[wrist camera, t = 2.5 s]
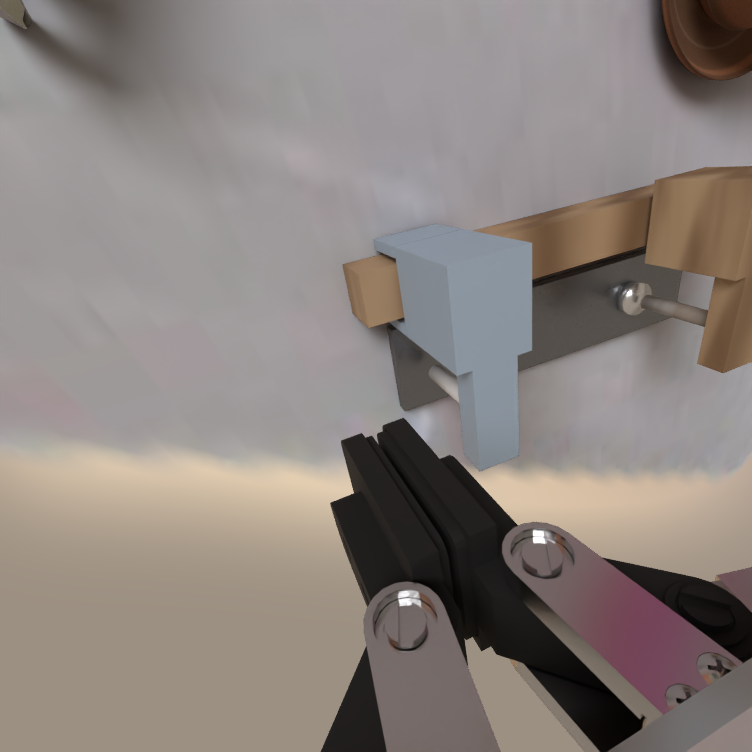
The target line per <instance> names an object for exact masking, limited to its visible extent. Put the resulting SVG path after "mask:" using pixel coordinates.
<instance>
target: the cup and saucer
mask: <svg viewBox="0 0 752 752" xmlns="http://www.w3.org/2000/svg"><path fill="white" fill-rule="evenodd" d="M661 3H662V13H663V18H664V24H665V27H666V31H667V35H668V37H669V40H670V43H671V45H672V47H673V49H674V51H675V53H676V55H677V56H678V58H679V60H680V61H681V62H682V63H683V65H684V66H685V67H686V68H687V69H688V70H689V71H691V72H692V73H694V74H695V75H697V76H700V77H702V78H705V79H710V80H729V79H733V78H737V77H739V76H742V75H744V74H746V73H748V72H750V71H752V0H661Z"/></svg>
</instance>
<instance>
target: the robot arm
mask: <svg viewBox="0 0 752 752" xmlns="http://www.w3.org/2000/svg"><path fill="white" fill-rule="evenodd" d="M377 438H378V443H379V445H378V444H377V442H376V441H375V439H374V438H373V436H369V437H367V438H365V436H364V435H363V434H362V433H361V434H358V435H355V436H353V437H350V438H347V439H344V440H342V441H341V445H342V449H343V453H344V456H345V460H346V464H347V468H348V472H349V475H350V479H351V483H352V487H353V491H354V494H351V495H349V496H346V497H344V498H342V499H339V500H337V501H334V502H331V503H330V504H331V508H332V511H333V514H334V518H335V521H336V525H337V528H338V531H339V534H340V537H341V540H342V542H343V546H344V548H345V551H346V554H347V556H348V559H349V562H350V564H351V567H352V569H353V572H354V574H355V577H356V580H357V582H358V585H359V587H360V590H361V592H362V595H363V597H364V600H365V602H366V605H367V610H366V613H365V616H364V635H365V640H366V648H365V650H364V653H363V655H362V657H361V660H360V662H359V664H358V667H357V669H356V671H355V674H354V676H353V678H352V680H351V683H350V685H349V688H348V690H347V692H346V694H345V697H344V699H343V702H342V704H341V706H340V708H339V711H338V713H337V715H336V718H335V720H334V722H333V725H332V727H331V729H330V731H329V734H328V736H327V738H326V741H325V743H324V745H323V748H322V750H321V752H501V751H500V749H499V746H498V743H497V741H496V738H495V736H494V733H493V731H492V728H491V725H490V723H489V721H488V718H487V715H486V713H485V710H484V707H483V705H482V702H481V700H480V697H479V695H478V693H477V689H476V687H475V684H474V682H473V679H472V677H471V674H470V672H469V669H468V663H467V655H466V647H465V640H464V638H465V639H466V640H467V639H469V638H471V637H473V638H474V640H475V641H476V643H477V645H478V646H479V648H480V650H481V651H483V650H485V649H487V648H489V647H490V646H491V647H492V648H493V649H494V651H495V653H496V654H497V655H500V656H503V657H506V658H509V659H510V661H511V663H512V664H513V666H514V667H515V669H516V671H517V672H518V673H519V674H520V676H521V677H522V678H523V679H524V680H525V681H526V682H527V684H528V685H529V686H530V687H531V689H532V690H533V691H534V692H535V693H536V694H537V696H538V697H539V698H540V699H541V700H542V702H543V703H544V704H545V705H546V706H547V708H548V709H549V710H550V711H551V712H552V714H553V715H554V716H555V717H556V718H557V720H558V721H559V722H560V723H561V724H562V726H563V727H564V728H565V729H566V730H567V731H568V733H569V734H570V735H571V736H572V737H573V739H574V740H575V741H576V742H577V743H578V745H579V746H580V747H581V748H582V749H583V750H584V752H752V567H751V568H746V569H742V570H738V571H733V572H729V573H725V574H720V575H717V576H716V578H715V581H713V582H709V581H706V580H702V579H699V578H696V577H691V576H686V575H681V574H677V573H672V572H668V571H663V570H658V569H653V568H649V567H644V566H639V565H635V564H630V563H625V562H620V561H616V560H611V559H606V558H602V557H600V556H599V555H598V554H596V553H595V552H594V551H592V550H591V549H590V548H588V547H587V546H586V545H584V544H583V543H581V542H580V541H579V540H577V539H576V538H575V537H573V536H572V535H571V534H569V533H568V532H566V531H564V530H563V529H561V528H559V527H557V526H554V525H550V524H548V523H540V522H531V523H524V524H521V525H519V526H518V525H517V524H516V523H515V522H514V521H513V520H512V519H511V518H510V516H509V515H508V514H507V513H506V512H505V511H504V510H503V509H502V508H501V507H500V506H499V505H498V504H497V503H496V501H495V500H494V499H493V498H492V497H491V496H490V495H489V494H488V493H487V492H486V491H485V490H484V488H482V486H481V485H480V484H479V483H478V482H477V481H476V480H475V479H474V478H473V477H472V476H471V474H470V473H469V472H468V471H467V470H466V469H465V468H464V467H463V466H462V465H461V464H460V463H459V462H458V460H457V459H455V458H454V457H453V456H450V455H449V456H446V457H444V458H441V459H439V458H438V456H437V455H436V454H435V453H434V452H433V451H432V450H431V448H430V447H429V446H428V445H427V444H426V443H425V441H424V440H423V439H422V438H421V437H420V436H419V435H418V433H417V432H416V431H415V430H414V429H413V428H412V426H411V425H410V424H409V423H408V422H407V421H406V420H405V419H404V418H402V419H399V420H396V421H394V422H391V423H388V424H385V425H383V432H380V433H378V434H377Z"/></svg>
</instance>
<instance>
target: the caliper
mask: <svg viewBox="0 0 752 752" xmlns="http://www.w3.org/2000/svg"><path fill="white" fill-rule="evenodd" d="M0 17H2V18H4V19H6V20H8V21H10V22H12V23H14V24H16V25H18V26H20V27H22V28H24V29H27V28H28V26H29V25H30V22H31V17H30V15H29V13H28V12H27V10H26V8H25V6H24V4H23V2H22V0H0Z"/></svg>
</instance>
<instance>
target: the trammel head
mask: <svg viewBox="0 0 752 752" xmlns="http://www.w3.org/2000/svg"><path fill="white" fill-rule="evenodd" d="M374 245H375V250H376V251H379V252H381V253H383V254H386V255H388V256H391V257H393V258H396V264H397V271H398V278H399V285H400V291H401V298H402V305H403V312H404V318H401V319H397V320H394V321H391V322H389V323H391V324H392V325H393V326H394V327H396V328H397V329H398V330H399V331H401V332H402V333H403V334H404V335H406V336H407V337H408V338H409V339H411V340H412V341H413V342H415V343H416V344H417V345H418V346H420V347H421V348H422V349H423V350H425V351H426V352H427V353H428V354H430V355H431V356H432V357H433V358H435V359H436V360H437V361H438V362H440V363H441V364H442V365H444V366H445V367H446V368H447V369H449V370H450V371H451V372H452V373H454V374H455V375H456V376H457V379H456V378H455V377H454V376H453V375H451V374H450V373H449V372H448V371H446V370H445V369H444V368H443V367H442V366H440V365H434V366H432V367H431V368H430V370H429V377H430V378H431V379H432V380H433V381H434V382H436V383H437V384H438V385H439V386H440V387H441V388H442V389H443V390H445V391H446V392H447V393H448V394H449V395H450V396H451V397H452V398H453V399H455V400H456V401H457V402H458V403H459V406H460V417H461V427H462V438H463V449H464V455H465V456H466V457H467V458H468V459H469V461H470V462H471V463H472V464H473V465H474V466H475V467H476V468H477V469H478V470H479V471H483V470H485V469H488V468H490V467H493V466H495V465H497V464H500V463H502V462H505V461H507V460H510V459H512V458H515V457H517V456H519V417H518V355H520V354H523V353H526V352H529V351H532V243H530V242H525V241H520V240H515V239H510V238H505V237H500V236H495V235H490V234H485V233H480V232H475V231H470V230H465V229H460V228H455V227H450V226H445V225H440V224H434V225H430V226H426V227H422V228H418V229H414V230H410V231H406V232H402V233H398V234H394V235H390V236H386V237H381V238H377V239H374Z"/></svg>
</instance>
